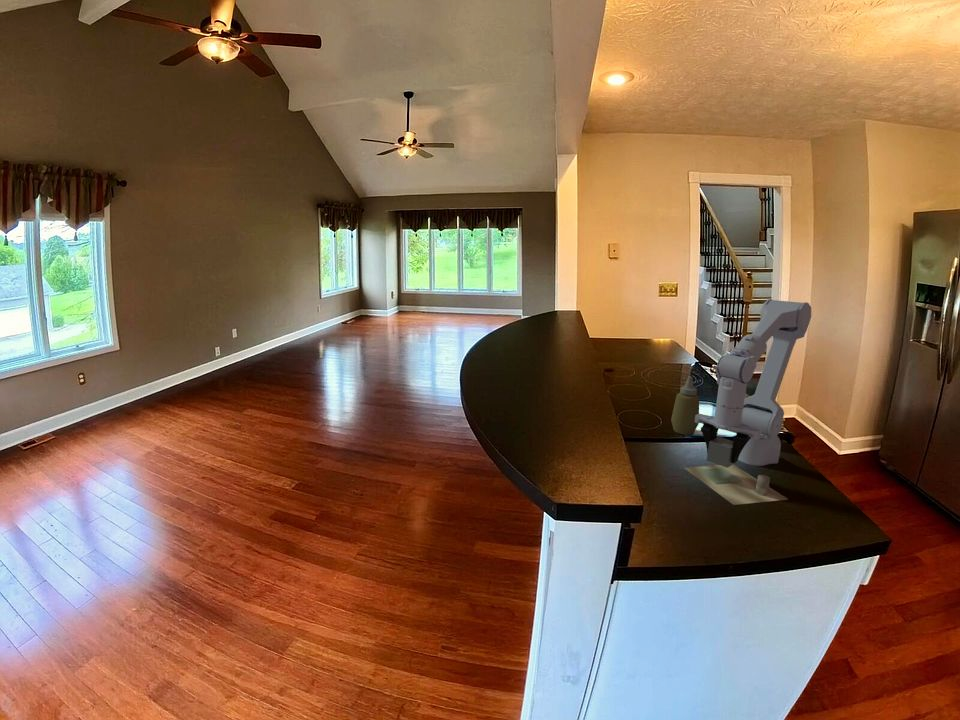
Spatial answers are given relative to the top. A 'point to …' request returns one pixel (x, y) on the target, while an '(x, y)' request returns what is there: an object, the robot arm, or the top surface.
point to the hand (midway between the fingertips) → (722, 457)
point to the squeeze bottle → (686, 409)
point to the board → (736, 484)
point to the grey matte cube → (720, 451)
